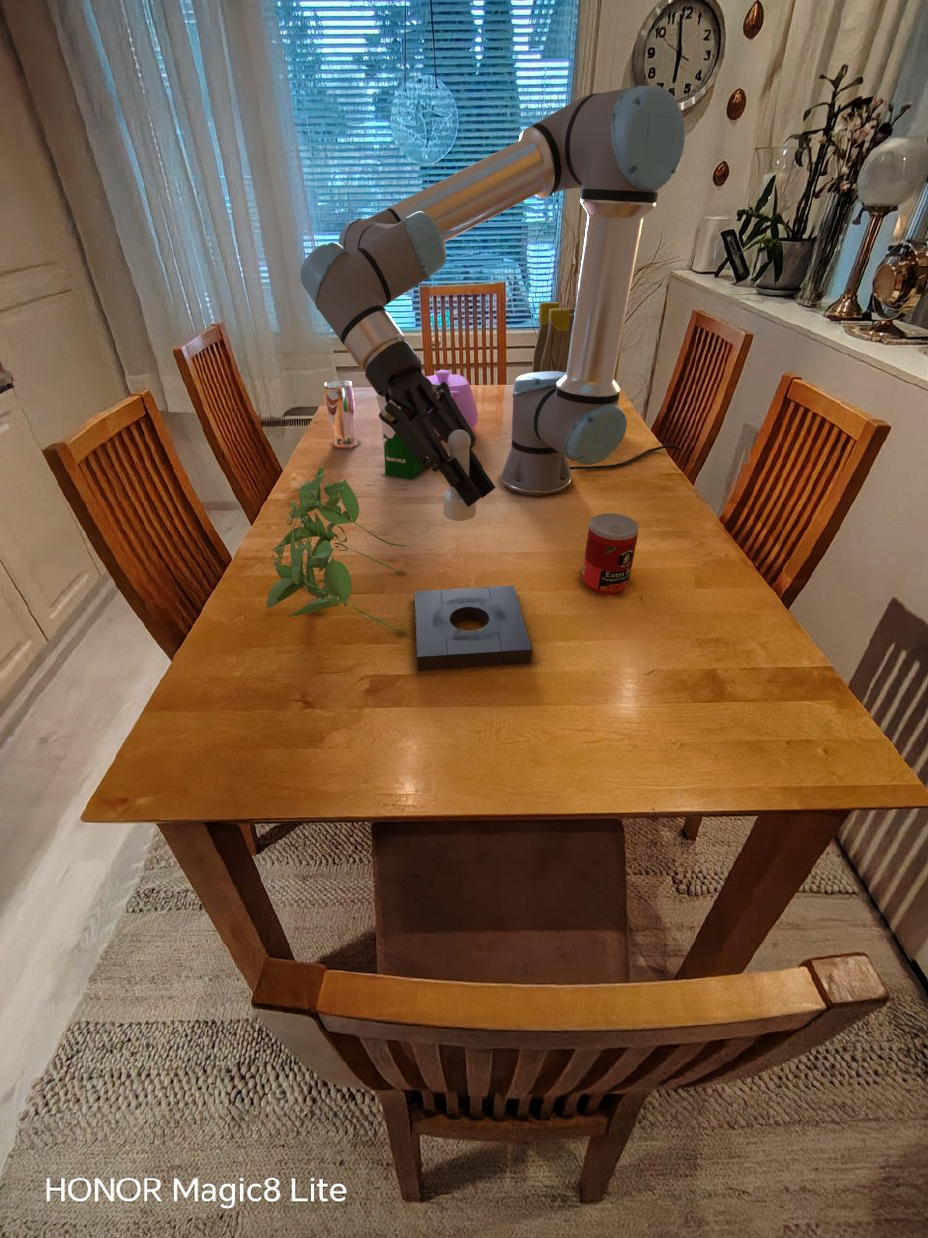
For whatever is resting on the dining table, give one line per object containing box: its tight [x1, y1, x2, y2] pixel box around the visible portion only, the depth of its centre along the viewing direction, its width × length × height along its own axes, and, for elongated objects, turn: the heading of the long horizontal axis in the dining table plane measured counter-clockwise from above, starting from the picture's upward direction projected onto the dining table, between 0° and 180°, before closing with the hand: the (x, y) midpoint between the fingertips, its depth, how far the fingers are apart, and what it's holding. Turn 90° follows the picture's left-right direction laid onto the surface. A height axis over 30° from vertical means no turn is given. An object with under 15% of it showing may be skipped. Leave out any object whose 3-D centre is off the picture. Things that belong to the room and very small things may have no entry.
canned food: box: [581, 512, 640, 595], centre depth 96 cm, size 8×8×11 cm
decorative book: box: [531, 301, 626, 382], centre depth 149 cm, size 20×11×30 cm, turn 98°
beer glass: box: [323, 379, 359, 449], centre depth 146 cm, size 7×7×15 cm
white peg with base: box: [442, 430, 477, 522], centre depth 84 cm, size 5×5×13 cm
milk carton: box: [375, 394, 426, 480], centre depth 131 cm, size 9×9×20 cm
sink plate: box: [413, 585, 533, 671], centre depth 88 cm, size 16×16×2 cm
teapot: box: [424, 369, 479, 438], centre depth 151 cm, size 23×21×15 cm
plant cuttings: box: [265, 466, 410, 634], centre depth 90 cm, size 35×17×22 cm
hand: (481, 497), depth 84 cm, fingers closed on white peg with base, 3 cm apart
